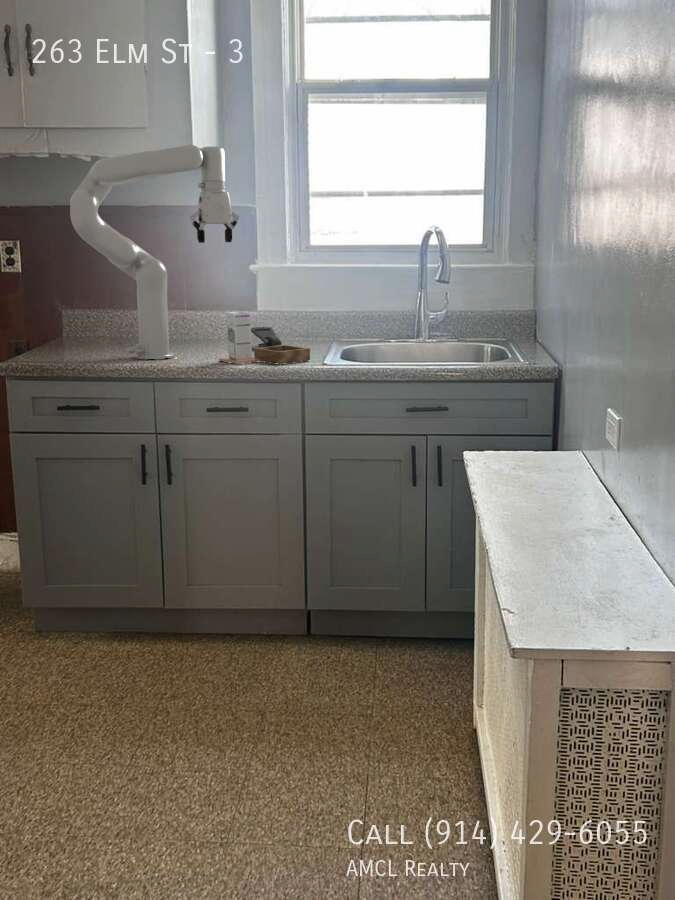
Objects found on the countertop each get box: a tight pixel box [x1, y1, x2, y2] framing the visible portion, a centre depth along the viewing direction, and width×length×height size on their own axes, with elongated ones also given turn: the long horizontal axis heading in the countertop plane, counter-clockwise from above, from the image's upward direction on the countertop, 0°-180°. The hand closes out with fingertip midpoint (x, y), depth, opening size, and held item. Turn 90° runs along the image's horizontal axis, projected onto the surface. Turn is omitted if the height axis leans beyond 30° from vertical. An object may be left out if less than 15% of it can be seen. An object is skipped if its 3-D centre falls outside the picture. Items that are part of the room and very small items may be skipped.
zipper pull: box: [251, 326, 283, 348], centre depth 356 cm, size 9×7×25 cm
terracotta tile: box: [218, 356, 261, 365], centre depth 329 cm, size 10×10×1 cm
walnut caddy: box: [253, 344, 311, 364], centre depth 330 cm, size 12×12×4 cm
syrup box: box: [227, 310, 253, 360], centre depth 327 cm, size 6×6×14 cm
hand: (215, 242), depth 336 cm, fingers open, 9 cm apart
